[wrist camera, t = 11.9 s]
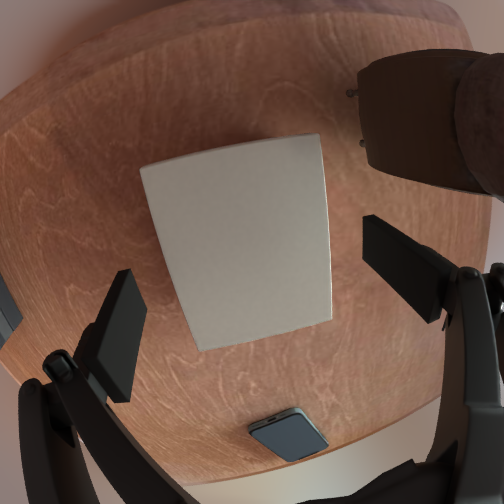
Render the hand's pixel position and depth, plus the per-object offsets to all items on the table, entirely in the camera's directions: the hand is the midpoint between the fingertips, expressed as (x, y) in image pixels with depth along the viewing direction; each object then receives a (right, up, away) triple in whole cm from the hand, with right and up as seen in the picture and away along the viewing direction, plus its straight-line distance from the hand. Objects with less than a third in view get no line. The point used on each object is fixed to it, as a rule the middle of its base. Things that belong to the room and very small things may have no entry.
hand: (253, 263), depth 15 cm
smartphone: (+6, -26, +20) cm, 33 cm away
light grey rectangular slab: (0, +1, +3) cm, 3 cm away
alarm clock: (+11, +12, +4) cm, 17 cm away
